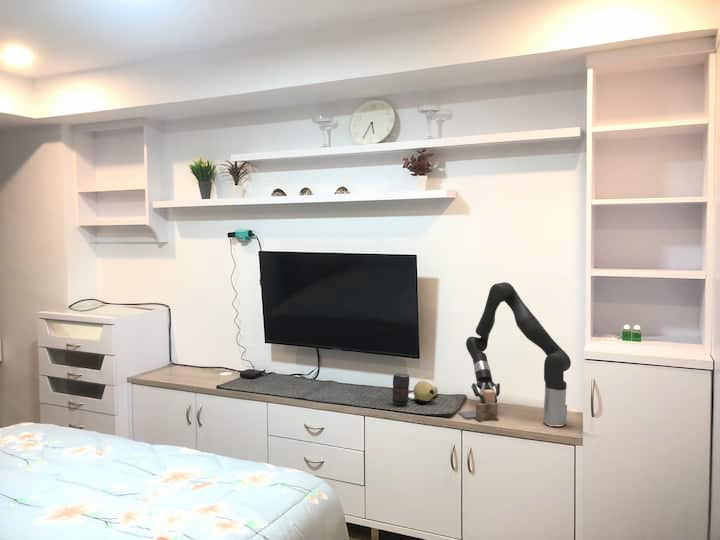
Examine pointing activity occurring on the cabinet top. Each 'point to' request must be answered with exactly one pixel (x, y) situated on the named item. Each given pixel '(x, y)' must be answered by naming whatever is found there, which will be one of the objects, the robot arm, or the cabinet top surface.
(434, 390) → the yellow round lump
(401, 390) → the camera lens
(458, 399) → the cabinet top surface
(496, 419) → the walnut board
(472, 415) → the slate pad
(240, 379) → the cabinet top surface
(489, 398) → the salmon pink rectangular block
